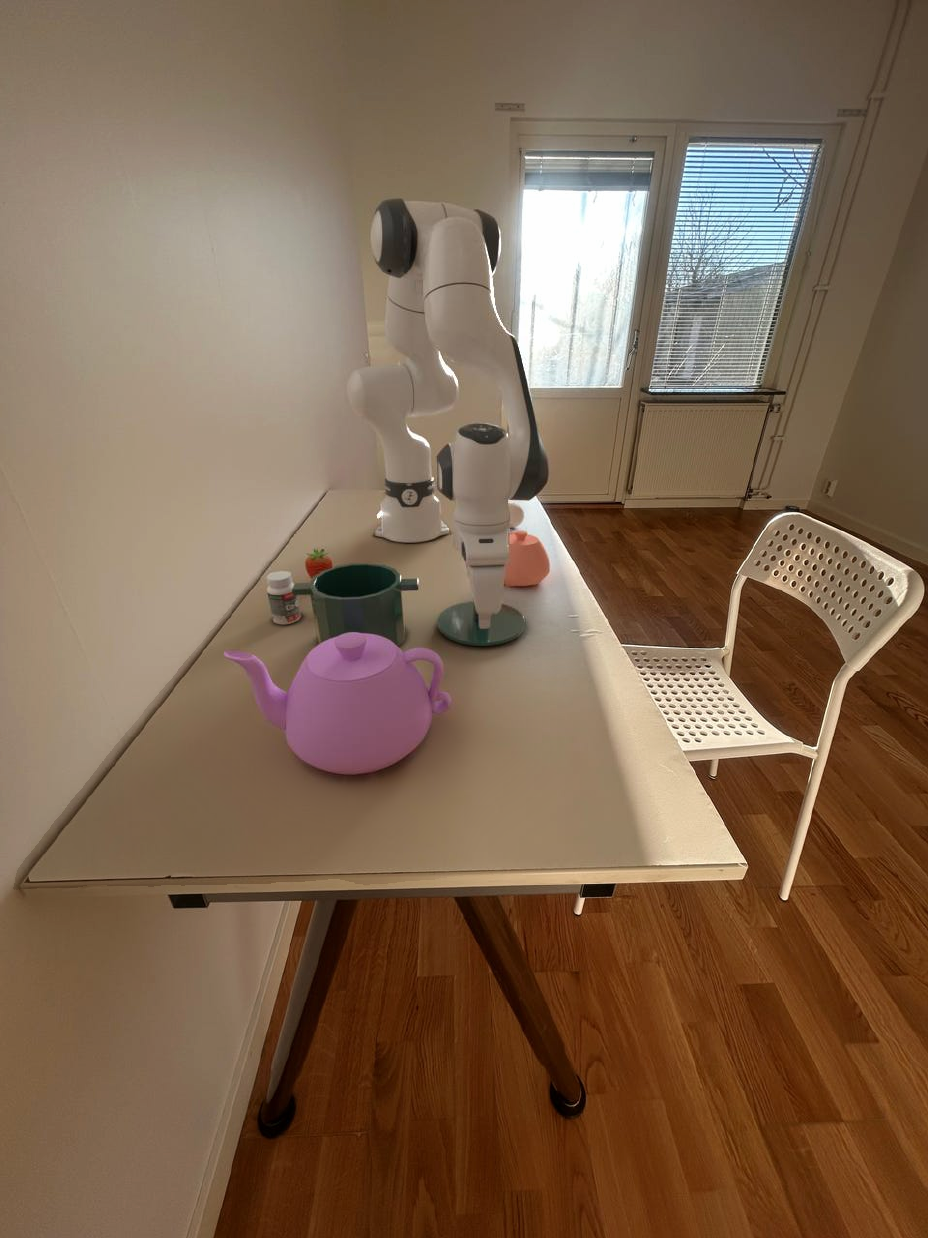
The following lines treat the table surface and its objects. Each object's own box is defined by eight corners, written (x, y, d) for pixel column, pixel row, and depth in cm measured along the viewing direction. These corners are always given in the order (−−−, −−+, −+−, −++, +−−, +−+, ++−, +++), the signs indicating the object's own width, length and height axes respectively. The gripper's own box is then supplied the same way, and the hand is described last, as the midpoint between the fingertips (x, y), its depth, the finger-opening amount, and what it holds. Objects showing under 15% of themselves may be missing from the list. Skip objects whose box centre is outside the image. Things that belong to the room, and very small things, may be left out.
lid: (436, 608, 95) (435, 582, 92) (516, 604, 96) (517, 579, 93) (439, 651, 81) (438, 622, 79) (532, 646, 82) (534, 618, 80)
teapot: (440, 681, 74) (437, 595, 68) (465, 769, 59) (464, 669, 52) (259, 703, 70) (237, 614, 63) (234, 804, 54) (202, 700, 48)
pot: (310, 620, 91) (301, 565, 86) (420, 615, 92) (417, 560, 87) (294, 663, 78) (282, 602, 73) (421, 657, 80) (418, 596, 75)
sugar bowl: (496, 594, 100) (497, 544, 95) (482, 566, 112) (483, 521, 107) (556, 589, 101) (561, 540, 97) (536, 563, 114) (539, 518, 109)
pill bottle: (292, 626, 89) (284, 582, 85) (267, 623, 90) (258, 579, 86) (305, 613, 93) (298, 571, 89) (281, 611, 94) (273, 569, 90)
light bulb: (514, 528, 143) (524, 530, 133) (491, 525, 142) (500, 526, 131) (518, 504, 142) (529, 504, 131) (495, 501, 141) (504, 500, 130)
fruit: (303, 587, 103) (297, 550, 99) (320, 578, 107) (314, 541, 103) (324, 592, 101) (319, 554, 97) (341, 582, 105) (336, 545, 101)
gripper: (456, 516, 90) (457, 588, 96) (467, 559, 72) (467, 644, 78) (492, 515, 90) (491, 586, 97) (511, 557, 72) (508, 642, 79)
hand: (480, 613), depth 87 cm, fingers open, 8 cm apart
